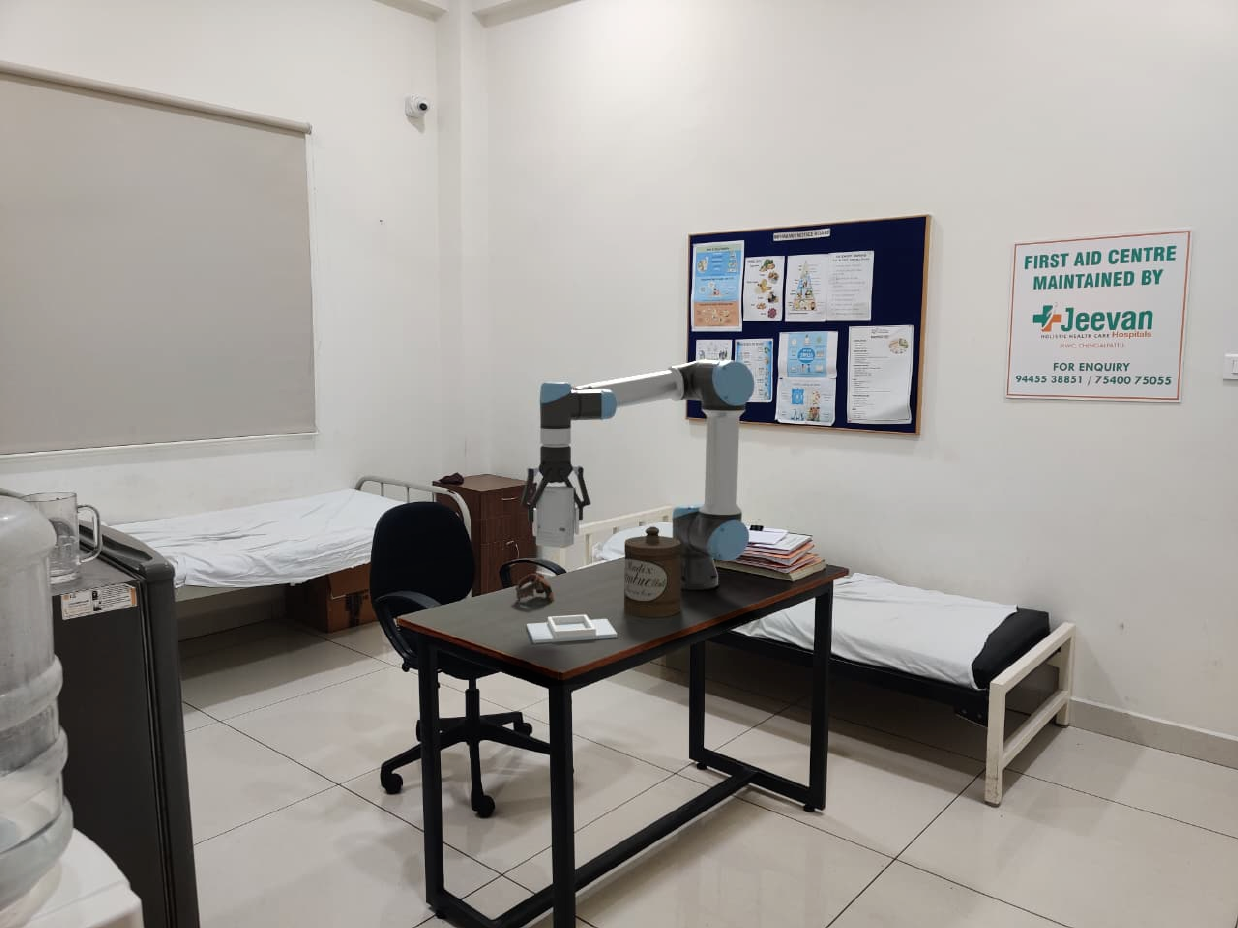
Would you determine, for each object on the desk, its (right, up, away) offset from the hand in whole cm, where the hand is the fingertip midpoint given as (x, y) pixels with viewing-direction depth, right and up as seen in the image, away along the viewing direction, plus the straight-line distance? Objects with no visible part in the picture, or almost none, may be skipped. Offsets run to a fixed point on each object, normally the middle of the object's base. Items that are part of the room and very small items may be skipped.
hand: (555, 534), depth 221 cm
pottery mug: (-7, -20, +19) cm, 28 cm away
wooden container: (+24, -21, +11) cm, 34 cm away
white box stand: (+4, -23, -8) cm, 25 cm away
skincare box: (0, -3, 0) cm, 3 cm away
